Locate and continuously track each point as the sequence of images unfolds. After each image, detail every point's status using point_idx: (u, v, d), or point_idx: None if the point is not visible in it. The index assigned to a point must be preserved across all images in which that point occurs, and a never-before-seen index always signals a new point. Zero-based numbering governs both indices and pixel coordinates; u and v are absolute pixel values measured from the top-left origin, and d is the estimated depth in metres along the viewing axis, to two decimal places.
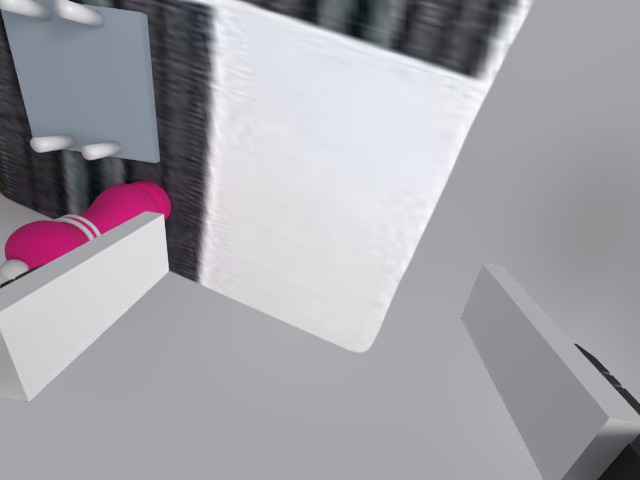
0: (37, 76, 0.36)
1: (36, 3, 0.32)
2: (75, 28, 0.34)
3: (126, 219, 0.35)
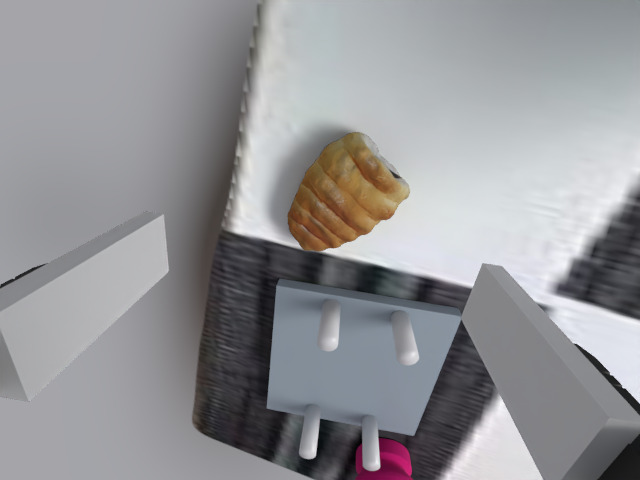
0: (296, 356, 0.30)
1: (338, 312, 0.26)
2: (367, 323, 0.27)
3: None
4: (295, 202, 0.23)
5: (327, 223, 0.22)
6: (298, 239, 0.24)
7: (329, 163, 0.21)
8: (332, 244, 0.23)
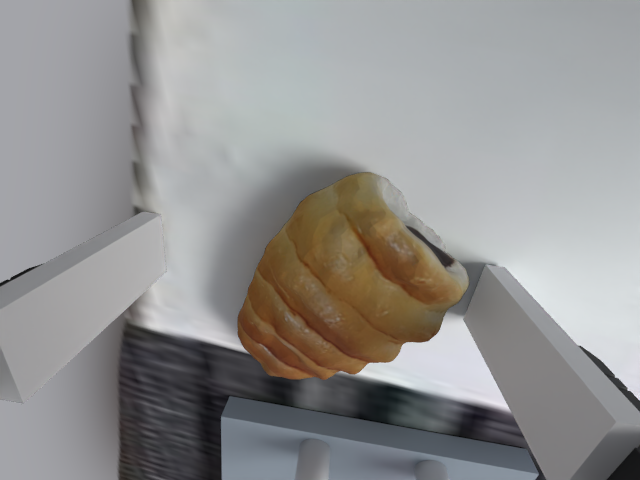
0: None
1: (325, 473, 0.15)
2: (374, 473, 0.16)
3: None
4: (248, 301, 0.12)
5: (307, 350, 0.11)
6: (258, 360, 0.13)
7: (309, 240, 0.10)
8: (320, 376, 0.12)
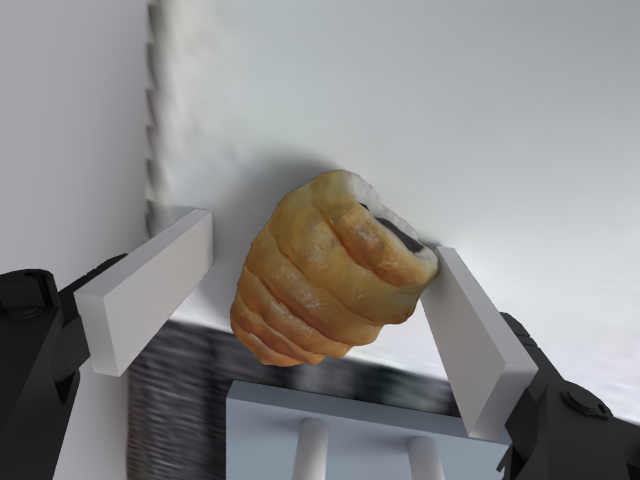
0: None
1: (324, 448, 0.16)
2: (370, 450, 0.18)
3: None
4: (238, 294, 0.13)
5: (293, 336, 0.12)
6: (251, 350, 0.14)
7: (287, 234, 0.11)
8: (308, 362, 0.13)
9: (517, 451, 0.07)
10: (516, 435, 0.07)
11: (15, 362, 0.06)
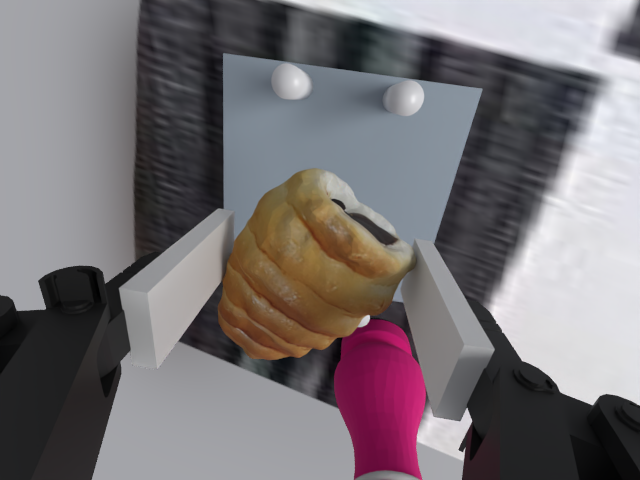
0: (258, 182, 0.22)
1: (308, 76, 0.18)
2: (350, 112, 0.20)
3: (418, 426, 0.21)
4: (224, 291, 0.14)
5: (276, 329, 0.13)
6: (239, 345, 0.15)
7: (264, 231, 0.11)
8: (293, 354, 0.14)
9: (476, 430, 0.08)
10: (475, 415, 0.08)
11: (67, 355, 0.06)
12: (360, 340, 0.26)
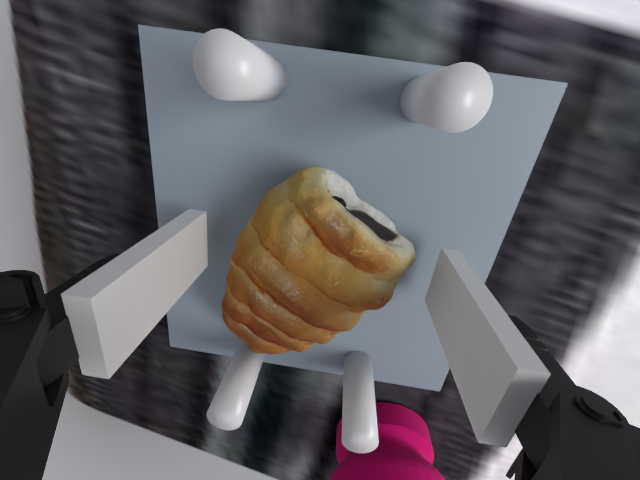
0: (209, 225, 0.15)
1: (275, 61, 0.10)
2: (347, 121, 0.12)
3: None
4: (227, 287, 0.14)
5: (279, 324, 0.13)
6: (243, 340, 0.15)
7: (267, 228, 0.11)
8: (296, 349, 0.14)
9: (529, 458, 0.07)
10: (527, 441, 0.07)
11: (0, 364, 0.06)
12: None
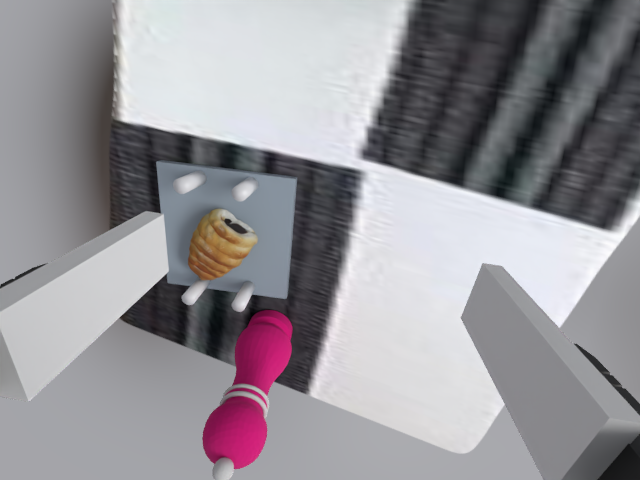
0: (182, 228, 0.38)
1: (199, 175, 0.34)
2: (228, 190, 0.36)
3: (275, 368, 0.36)
4: (189, 252, 0.37)
5: (207, 263, 0.36)
6: (196, 274, 0.38)
7: (201, 229, 0.35)
8: (216, 275, 0.37)
9: None
10: None
11: None
12: (255, 323, 0.42)
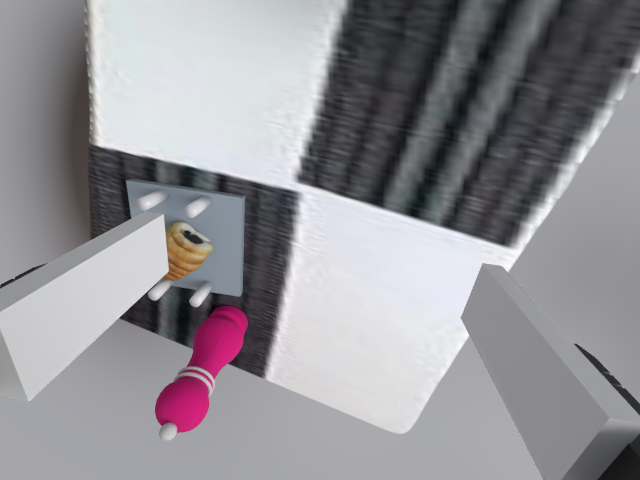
0: None
1: (161, 194, 0.41)
2: (187, 206, 0.42)
3: (225, 355, 0.44)
4: None
5: (169, 267, 0.43)
6: None
7: None
8: (177, 277, 0.44)
9: None
10: None
11: None
12: (214, 316, 0.49)
